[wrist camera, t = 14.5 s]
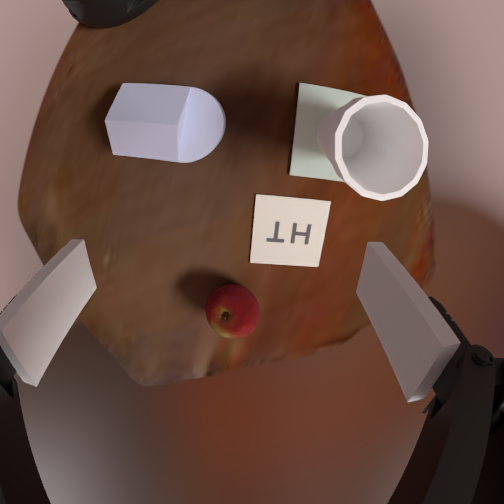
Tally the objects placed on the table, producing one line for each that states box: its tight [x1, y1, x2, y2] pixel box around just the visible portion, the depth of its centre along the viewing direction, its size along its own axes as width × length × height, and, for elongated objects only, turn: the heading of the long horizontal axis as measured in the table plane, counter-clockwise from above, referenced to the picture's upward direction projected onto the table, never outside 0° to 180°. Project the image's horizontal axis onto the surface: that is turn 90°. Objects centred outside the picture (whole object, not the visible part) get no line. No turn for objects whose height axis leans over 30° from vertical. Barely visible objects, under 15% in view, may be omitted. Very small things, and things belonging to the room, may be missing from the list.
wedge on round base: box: [105, 83, 226, 163], centre depth 29 cm, size 9×7×13 cm
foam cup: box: [317, 95, 428, 201], centre depth 27 cm, size 10×9×13 cm
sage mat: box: [290, 83, 367, 182], centre depth 33 cm, size 12×12×1 cm
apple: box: [206, 284, 259, 339], centre depth 40 cm, size 8×8×8 cm
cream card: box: [250, 194, 331, 267], centre depth 39 cm, size 10×10×1 cm
